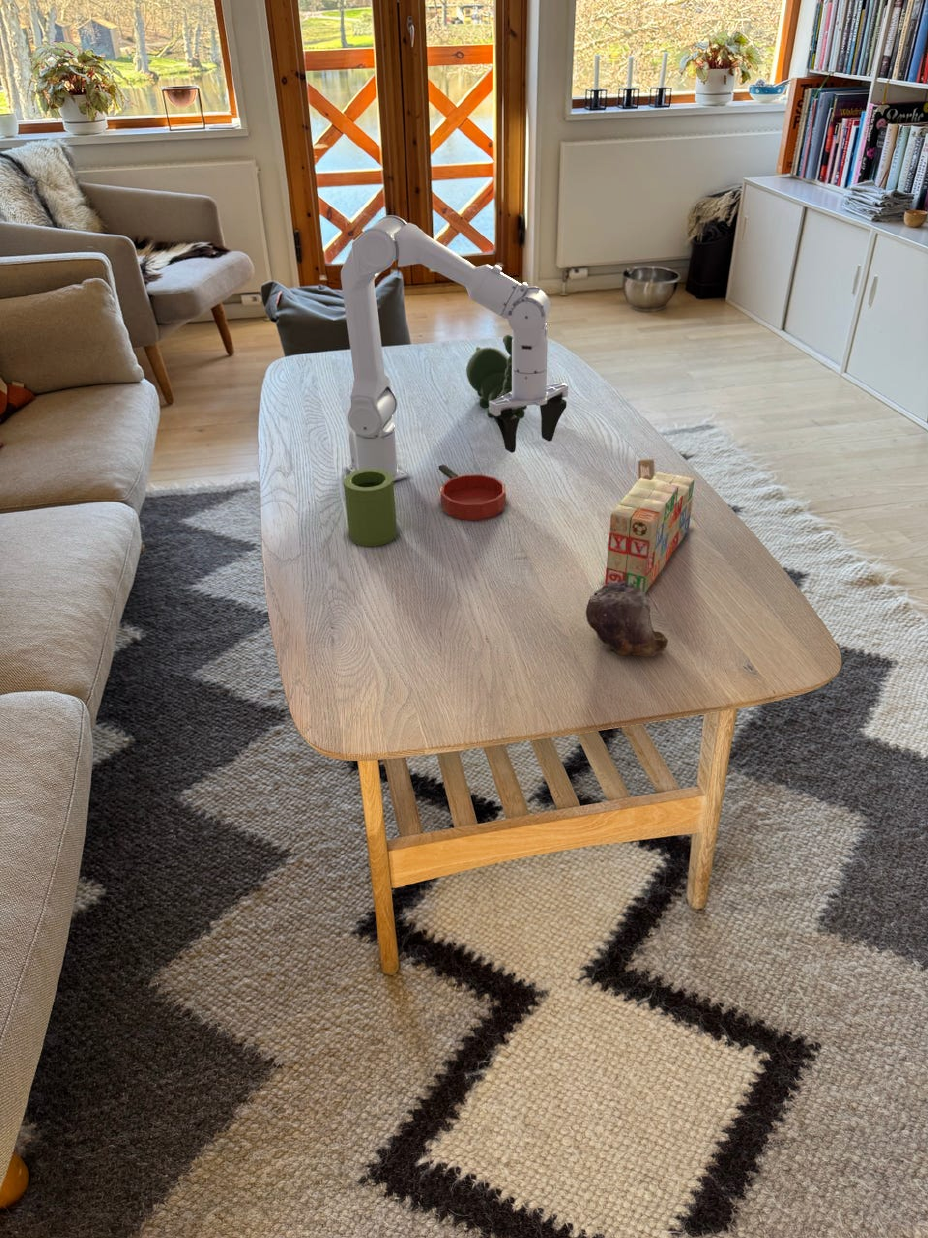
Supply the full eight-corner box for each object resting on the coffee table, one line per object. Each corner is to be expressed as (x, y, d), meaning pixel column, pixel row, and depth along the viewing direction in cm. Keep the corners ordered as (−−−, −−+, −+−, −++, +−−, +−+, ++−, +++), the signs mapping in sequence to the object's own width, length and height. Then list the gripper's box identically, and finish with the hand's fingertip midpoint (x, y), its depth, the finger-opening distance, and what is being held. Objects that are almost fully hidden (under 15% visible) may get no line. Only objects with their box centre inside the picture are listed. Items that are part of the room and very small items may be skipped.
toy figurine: (538, 434, 189) (497, 380, 207) (543, 344, 176) (499, 295, 195) (493, 441, 186) (456, 386, 205) (496, 351, 174) (456, 301, 192)
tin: (655, 538, 151) (659, 491, 146) (635, 538, 151) (639, 491, 147) (653, 495, 163) (657, 450, 158) (634, 494, 164) (638, 449, 159)
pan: (517, 509, 160) (517, 493, 159) (461, 526, 156) (461, 510, 154) (468, 471, 172) (467, 456, 171) (414, 486, 168) (413, 471, 166)
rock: (636, 623, 134) (570, 635, 132) (638, 568, 131) (571, 579, 128) (676, 660, 124) (606, 673, 122) (679, 601, 121) (607, 614, 118)
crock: (341, 530, 156) (335, 475, 150) (384, 518, 159) (379, 464, 153) (361, 551, 150) (356, 495, 144) (405, 538, 153) (401, 482, 148)
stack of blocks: (652, 521, 156) (659, 453, 149) (689, 530, 153) (698, 460, 146) (604, 584, 141) (609, 511, 134) (644, 595, 138) (652, 521, 131)
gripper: (505, 384, 148) (506, 463, 156) (580, 365, 154) (577, 442, 161) (481, 371, 153) (483, 448, 161) (554, 353, 159) (552, 428, 166)
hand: (528, 444), depth 161 cm, fingers open, 7 cm apart
